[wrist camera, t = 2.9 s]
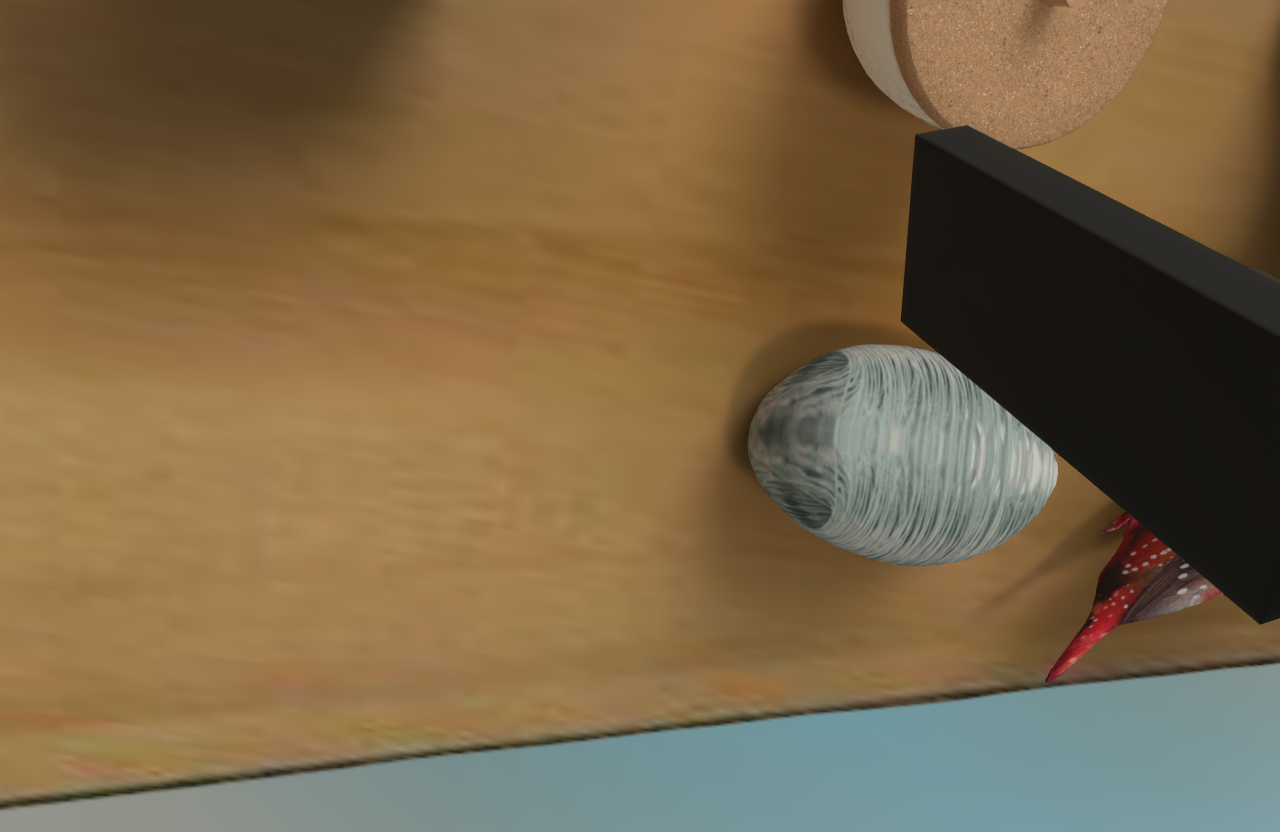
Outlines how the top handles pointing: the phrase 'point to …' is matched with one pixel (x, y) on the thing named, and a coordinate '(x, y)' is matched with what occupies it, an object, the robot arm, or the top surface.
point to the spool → (898, 457)
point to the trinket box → (1002, 59)
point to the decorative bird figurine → (1136, 589)
